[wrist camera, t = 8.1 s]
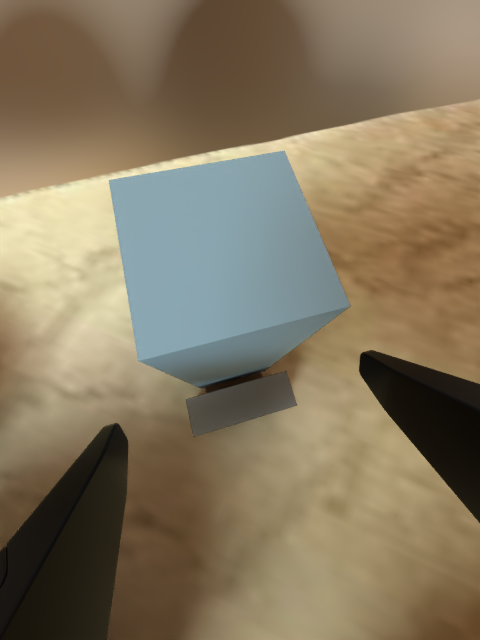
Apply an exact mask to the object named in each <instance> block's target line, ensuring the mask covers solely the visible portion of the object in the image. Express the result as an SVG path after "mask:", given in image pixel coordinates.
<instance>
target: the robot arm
mask: <svg viewBox="0 0 480 640" xmlns="http://www.w3.org/2000/svg"><path fill="white" fill-rule="evenodd" d="M359 372H360V375H361V376H362V378H363V379H364V381H365V382H366V384H367V385H368V387H369V388H370V390H371V391H372V393H373V394H374V395H375V397H376V398H377V400H378V401H379V403H380V404H381V406H382V407H383V408H384V410H385V411H386V412H387V413H388V415H389V416H390V417H391V418H392V419H393V421H394V422H395V423H396V424H397V425H398V426H399V428H400V429H401V430H402V431H403V432H404V434H405V435H406V436H407V437H408V438H409V440H410V441H411V442H412V443H413V444H414V445H415V447H416V448H417V449H418V450H419V451H420V453H421V454H422V455H423V456H424V457H425V459H426V460H427V461H428V462H429V463H430V464H431V466H432V467H433V468H434V469H435V470H436V472H437V473H438V474H439V475H440V476H441V478H442V479H443V480H444V481H445V482H446V484H447V485H448V486H449V487H450V488H451V489H452V491H453V492H454V493H455V494H456V495H457V497H458V498H459V499H460V500H461V501H462V503H463V504H464V505H465V506H466V507H467V508H468V510H469V511H470V512H471V513H472V514H473V516H474V517H475V518H476V519H477V520H478V522H479V523H480V384H478V383H475V382H471V381H468V380H465V379H462V378H459V377H456V376H453V375H449V374H446V373H443V372H440V371H437V370H434V369H430V368H427V367H424V366H421V365H418V364H415V363H411V362H408V361H405V360H402V359H399V358H396V357H392V356H389V355H386V354H383V353H380V352H377V351H373V350H369V351H366V352H363V353H361V355H360V365H359ZM127 473H128V440H127V437H126V436H125V434H124V432H123V430H122V428H121V427H120V425H119V424H118V423H114V424H110V425H107V426H105V427H103V428H102V430H101V431H100V432H99V433H98V434H97V436H96V437H95V438H94V439H93V440H92V442H91V443H90V444H89V445H88V446H87V448H86V449H85V450H84V451H83V453H82V454H81V455H80V456H79V457H78V459H77V460H76V461H75V462H74V463H73V465H72V466H71V467H70V468H69V469H68V471H67V472H66V473H65V474H64V475H63V477H62V478H61V479H60V480H59V481H58V483H57V484H56V485H55V486H54V488H53V489H52V490H51V491H50V492H49V494H48V495H47V496H46V497H45V498H44V500H43V501H42V502H41V503H40V504H39V506H38V507H37V508H36V509H35V510H34V512H33V513H32V514H31V515H30V516H29V518H28V519H27V520H26V521H25V522H24V524H23V525H22V526H21V527H20V529H19V530H18V531H17V532H16V533H15V535H14V536H13V537H12V538H11V539H10V541H9V542H8V543H7V546H5V547H4V548H3V549H2V550H1V551H0V640H107V633H108V626H109V619H110V611H111V604H112V597H113V590H114V582H115V575H116V568H117V561H118V553H119V546H120V539H121V532H122V524H123V517H124V510H125V503H126V494H127Z"/></svg>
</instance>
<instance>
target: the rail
mask: <svg viewBox="0 0 480 640" xmlns="http://www.w3.org/2000/svg"><path fill="white" fill-rule="evenodd" d="M205 388H206V392H207V394H204V395H200V396H197V397H193V398H189V399H186V403H187V408H188V413H189V418H190V423H191V428H192V432H193V437H195V436H198V435H202V434H205V433H208V432H211V431H215V430H218V429H221V428H225V427H228V426H231V425H234V424H238V423H241V422H244V421H248V420H251V419H254V418H257V417H261V416H264V415H267V414H271V413H274V412H277V411H280V410H284V409H287V408H290V407H294V406H297V403H296V400H295V397H294V394H293V391H292V388H291V385H290V382H289V378H288V375H287V372H286V371H284V372H281V373H277V374H274V375H270V376H267V377H263V378H262V376H261V372H259V373H255V374H252V375H248V376H245V377H241V378H237V379H234V380H230V381H227V382H223V383H220V384H216V385H213V386H209V387H205Z"/></svg>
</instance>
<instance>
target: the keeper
mask: <svg viewBox="0 0 480 640" xmlns="http://www.w3.org/2000/svg"><path fill="white" fill-rule="evenodd" d="M109 184H110V190H111V197H112V203H113V209H114V215H115V221H116V227H117V233H118V239H119V245H120V251H121V258H122V264H123V270H124V276H125V282H126V288H127V294H128V300H129V306H130V312H131V318H132V325H133V331H134V337H135V343H136V349H137V355H138V361H140V362H142V363H144V364H146V365H149V366H151V367H153V368H156V369H158V370H160V371H162V372H165V373H167V374H169V375H172V376H174V377H176V378H178V379H181V380H183V381H185V382H188V383H190V384H192V385H194V386H197V387H199V388H201V389H202V388H205V387H209V386H213V385H216V384H220V383H223V382H227V381H230V380H234V379H237V378H241V377H245V376H248V375H252V374H255V373H259V372H262V371H265V370H266V369H268V368H269V367H270V366H272V365H273V364H274V363H276V362H277V361H278V360H280V359H281V358H282V357H284V356H285V355H286V354H288V353H289V352H290V351H292V350H293V349H294V348H296V347H297V346H298V345H300V344H301V343H302V342H304V341H305V340H306V339H308V338H309V337H310V336H312V335H313V334H314V333H316V332H317V331H318V330H320V329H321V328H322V327H324V326H325V325H326V324H328V323H329V322H330V321H331V320H333V319H334V318H335V317H337V316H338V315H339V314H341V313H342V312H343V311H345V310H346V309H347V308H349V307H350V303H349V301H348V299H347V296H346V294H345V292H344V289H343V287H342V285H341V282H340V280H339V278H338V275H337V273H336V271H335V268H334V266H333V264H332V261H331V259H330V257H329V254H328V252H327V249H326V247H325V245H324V242H323V240H322V238H321V235H320V233H319V231H318V228H317V226H316V224H315V221H314V219H313V217H312V214H311V212H310V210H309V207H308V205H307V203H306V200H305V198H304V196H303V193H302V191H301V188H300V186H299V184H298V181H297V179H296V177H295V174H294V172H293V170H292V167H291V165H290V163H289V160H288V158H287V156H286V153H285V151H280V152H274V153H268V154H262V155H256V156H250V157H244V158H238V159H232V160H227V161H221V162H215V163H209V164H203V165H197V166H191V167H185V168H179V169H173V170H167V171H161V172H155V173H149V174H143V175H137V176H131V177H125V178H119V179H113V180H109Z"/></svg>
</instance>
